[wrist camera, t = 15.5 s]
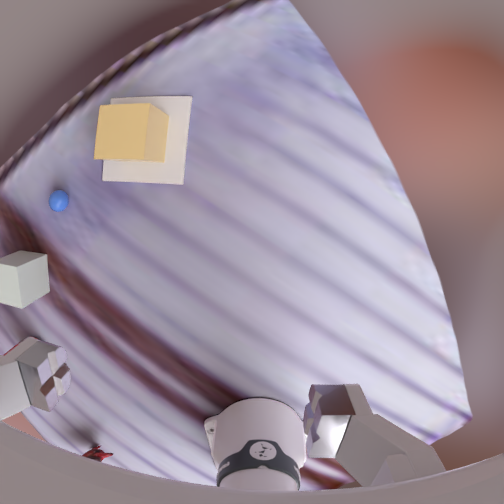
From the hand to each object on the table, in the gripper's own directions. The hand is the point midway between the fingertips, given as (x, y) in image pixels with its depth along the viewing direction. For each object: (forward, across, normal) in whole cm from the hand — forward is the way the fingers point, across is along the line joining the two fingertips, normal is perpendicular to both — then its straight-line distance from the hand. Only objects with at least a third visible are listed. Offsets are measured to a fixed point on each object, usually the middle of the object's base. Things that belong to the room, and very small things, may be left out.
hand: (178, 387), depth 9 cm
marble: (+32, +27, -2) cm, 42 cm away
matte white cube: (+34, +34, +10) cm, 49 cm away
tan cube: (+34, +14, -11) cm, 38 cm away
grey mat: (+34, +14, -11) cm, 38 cm away
